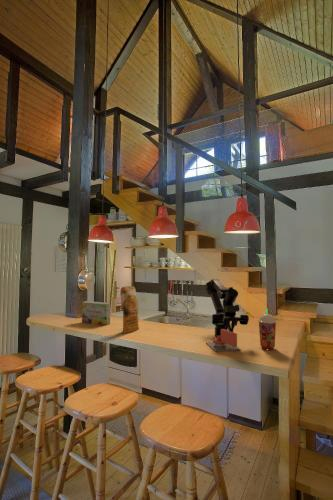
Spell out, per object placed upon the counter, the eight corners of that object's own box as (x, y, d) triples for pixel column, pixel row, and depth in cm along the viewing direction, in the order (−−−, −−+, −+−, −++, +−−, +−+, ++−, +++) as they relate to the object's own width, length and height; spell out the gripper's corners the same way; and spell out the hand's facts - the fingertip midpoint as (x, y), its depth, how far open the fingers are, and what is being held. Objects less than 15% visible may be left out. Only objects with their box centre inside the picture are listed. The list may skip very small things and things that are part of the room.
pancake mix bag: (116, 333, 168) (116, 287, 169) (134, 327, 184) (134, 285, 186) (125, 334, 165) (125, 287, 166) (142, 328, 181) (143, 285, 183)
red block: (210, 341, 143) (210, 327, 143) (221, 339, 145) (221, 326, 146) (229, 350, 128) (229, 334, 128) (241, 348, 131) (241, 333, 131)
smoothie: (272, 345, 143) (271, 307, 144) (279, 350, 135) (278, 309, 136) (256, 345, 143) (255, 307, 144) (262, 351, 134) (261, 309, 135)
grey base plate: (229, 342, 149) (229, 337, 149) (240, 350, 135) (240, 345, 135) (206, 343, 147) (206, 338, 147) (215, 351, 133) (215, 346, 133)
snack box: (81, 323, 197) (81, 301, 198) (86, 321, 202) (86, 300, 203) (106, 325, 188) (106, 303, 189) (110, 324, 194) (111, 302, 194)
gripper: (212, 298, 146) (214, 324, 135) (248, 299, 145) (253, 325, 133) (211, 310, 154) (212, 336, 142) (245, 311, 152) (249, 337, 141)
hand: (231, 333), depth 140 cm, fingers closed
